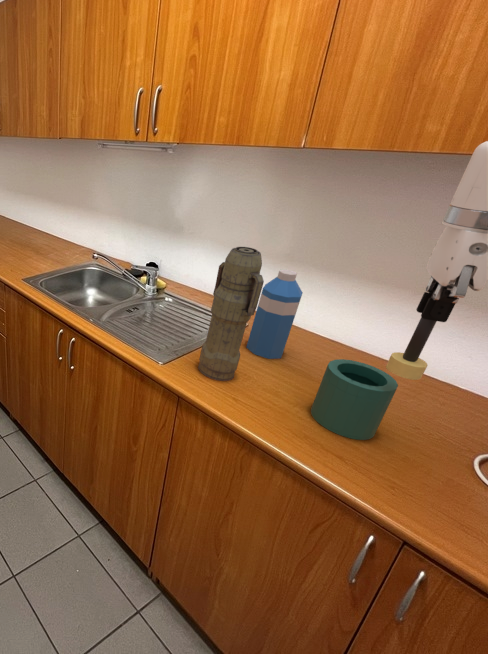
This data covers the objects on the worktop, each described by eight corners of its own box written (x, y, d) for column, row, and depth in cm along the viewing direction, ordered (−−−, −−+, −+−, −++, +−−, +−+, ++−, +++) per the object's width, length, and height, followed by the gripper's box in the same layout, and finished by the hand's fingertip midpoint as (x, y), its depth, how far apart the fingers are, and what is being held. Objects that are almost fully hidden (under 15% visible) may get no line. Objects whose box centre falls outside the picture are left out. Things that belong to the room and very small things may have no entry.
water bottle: (287, 361, 111) (315, 280, 101) (249, 355, 114) (272, 276, 104) (278, 344, 119) (302, 267, 109) (242, 339, 122) (263, 264, 112)
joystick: (416, 369, 78) (458, 287, 71) (424, 383, 74) (469, 297, 67) (382, 361, 81) (419, 281, 74) (388, 374, 77) (428, 291, 70)
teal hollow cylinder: (369, 415, 91) (391, 369, 86) (379, 447, 83) (404, 398, 77) (308, 398, 97) (325, 353, 92) (312, 426, 88) (331, 379, 83)
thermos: (209, 356, 114) (237, 240, 100) (247, 379, 104) (283, 254, 90) (186, 362, 111) (211, 244, 98) (221, 387, 101) (255, 260, 87)
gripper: (538, 234, 57) (478, 342, 65) (490, 212, 70) (444, 305, 77) (464, 227, 61) (414, 329, 68) (430, 207, 73) (391, 296, 81)
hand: (430, 316), depth 72 cm, fingers closed on joystick
